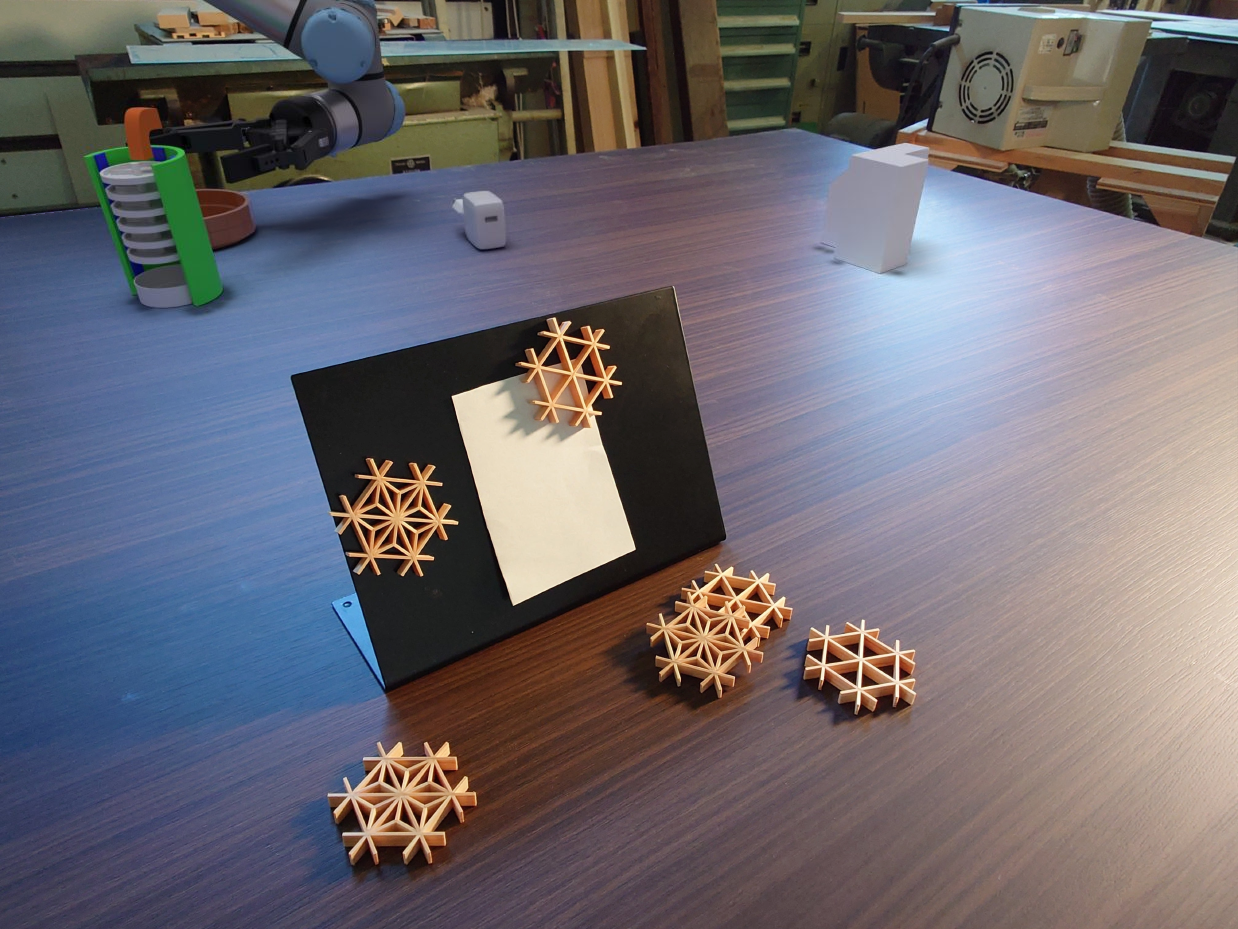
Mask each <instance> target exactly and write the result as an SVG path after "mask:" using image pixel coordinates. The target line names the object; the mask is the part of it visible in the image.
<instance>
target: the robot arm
mask: <svg viewBox="0 0 1238 929" xmlns="http://www.w3.org/2000/svg"><path fill="white" fill-rule="evenodd" d="M202 2H204V3H207V4H208V5H210V6H212V7H213V8H215V9H217V10H218V11H220V12H222V13H224V14H226V15H227V16H229V17H231V18H233V19H234V20H236V21H237V22H239V23H241V24H243V25H244V26H246V27H248V28H249V29H252V30H253V31H255V32H256V33H258V34H260V35H262V36H263V37H265V38H267V39H269V40H270V41H272V42H274V43H276V44H277V45H279V46H280V47H282V48H283V49H285V50H286V51H289V52H290V53H292V55H295V56H297V57H299V58H300V59H302V60H303V61H305V62H307V63H308V65H309V67H310V68H311V69H312V70H313V71H314V72H315V74H317V75H318V76H320V77H321V78H322V79H324V80H326V82H327V88H328V89H323V90H317V91H313V92H309V93H304V94H302V95H297V96H296V95H295V96H292V97H288V98H283V99H280V100H278V101H277V102H276V103H274V104H273V106H272V107H271V109H270V111H269V115H268V117H267V116H266V117H257V118H255V119H254V120H247V118H244V117H238V118H237V119H231V120H227V121H217V122H209V123H199V124H191V125H183V126H182V125H181V126H173V127H171V126H166V127H164V128H163V129H162V131H163V134H157V135H153V136H149V141H150V145H161V146H172V147H177V148H180V149H182V150H184V152H185V155H188V154H190V155H191V154H200V153H213V152H225V151H235V152H231V153H227V154H223V155H220V156H219V159H220V163H221V166H222V168H221V169H222V171H223V175H224V180H225V184H230V185H233V184H236V183H239V182H242V181H246V180H248V179H252V178H255V177H258V176H261V175H265V174H268V173H270V172H274V171H276V170H277V169H278V170H281V171H286V170H289V169H291V166H294V169H295V170H297V171H300V172H301V171H304V170H306V169H308V168H309V167H310V166H311V165H312V164H313V163H314V162H315V161H317V160H321V159H324V158H326V157H328V156H329V157H330V158H332V159H336V158H337V157H338V153H340V152H345V151H347V150H351V149H354V148H357V147H361V146H364V145H368V144H372V143H378V142H381V141H383V140H385V139H386V138H387V139H388V137H392V136H393V135H394V134H396V133H398V132H399V131H400V129H401V128H402V126H403V125H404V123H405V118H406V106H405V102H404V100H403V98H402V97H401V94H400V92H399V90H398V89H397V87H396V86H394V84H392V83H391V82H389V81H388V80H386V76H385V70H384V67H383V66H384V65H383V56H382V48H381V40H380V39H381V38H380V31H379V23H378V10H377V6H376V3H375V0H202ZM246 142H247V144H248V145H249V146H246V145H245V143H246ZM124 144H125V147H128V143H127V142H125V143H124Z"/></svg>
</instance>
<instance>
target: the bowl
mask: <svg viewBox="0 0 1238 929" xmlns="http://www.w3.org/2000/svg"><path fill="white" fill-rule="evenodd" d="M195 191H196V194H197V198H198V201H199V205H200V208H201V212H202V215H203V219H204V222H205V226H206V230H207V233H208V237H209V240H210V244H211V247H212V250H216V249H221V248H225V247H227V246H232V245H234V244H236V243H238V242H241V241H243V240H244V239H246V238H248V236H250V235H252V234H253V233H254V232H255V230H256V228H257V227H258V226H257V225H258V224H257V220H256V216H255V212H254V207H253V204H252V199H251V198H250V197H249V196H248V195H247V194H245V193H243V192H240V191H237V190H230V189H223V188H222V189H221V188H199V189H197V188H195Z"/></svg>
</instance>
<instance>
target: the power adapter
mask: <svg viewBox="0 0 1238 929" xmlns="http://www.w3.org/2000/svg"><path fill="white" fill-rule="evenodd" d="M452 203H453V204H452V209H453V210H454V212H455V213H456V214H457V215H458V216H459V217H460V218H461V219H463V222H464V223H463V224H464V233H465V236H466V238H467V240H468V241H469V242H470V243H471V244H472V245H473V246H474V247H475V248H477V249H478V250H491V249H496V248H502V247H505V246H506V243H507V228H506V227H507V226H506V212H505V205H504V202H503V200H502V199H501V198H500V197H498V196H497V195H496V194H495V193H493V192H492V191H489V190H478V191H471V192H465V193H464V194H463V195H462V197H461V198H456V197H454V198H453V199H452Z"/></svg>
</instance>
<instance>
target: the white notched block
mask: <svg viewBox="0 0 1238 929" xmlns="http://www.w3.org/2000/svg"><path fill="white" fill-rule="evenodd" d="M930 149H931V148H930V147H928V146H923V145H918V144H913V143H908V142H903V143H898V144H894V145H888V146H885V147H880V148H876V149H871V150H866V151H863V152H862V151H861V152H856V153H853V154H850V158H849V164H848V167H847V169H845V170H844V171H843V172H842V173H841V174H839V175H838V176H837V177H836V178H835V179H833V180H832V181H831V182H830V183H829V186H828V191H827V192H828V193H827V199H826V206H825V212H824V218H823V223H822V231H821V237H820V243H821V244H824V245H826V246H830V247H833V248H834V252H833V259H835V260H838V261H841V262H844V263H847V264H850V265H853V266H857V267H859V268H861V269H865V270H868V271H870V272H874V273H877V274H883V273H885V272H889V271H891V270H893V269H897V268H900V267H902V266H905V265H907V264H908V257H909V255H910V249H911V245H912V239H913V237H914V236H913V235H914V231H915V226H916V222H917V216H918V213H919V212H918V211H919V209H920V204H921V199H922V195H923V190H924V185H925V181H926V177H927V172H928V167H929V163H930V159H929V154H930V151H931V150H930Z"/></svg>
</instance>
